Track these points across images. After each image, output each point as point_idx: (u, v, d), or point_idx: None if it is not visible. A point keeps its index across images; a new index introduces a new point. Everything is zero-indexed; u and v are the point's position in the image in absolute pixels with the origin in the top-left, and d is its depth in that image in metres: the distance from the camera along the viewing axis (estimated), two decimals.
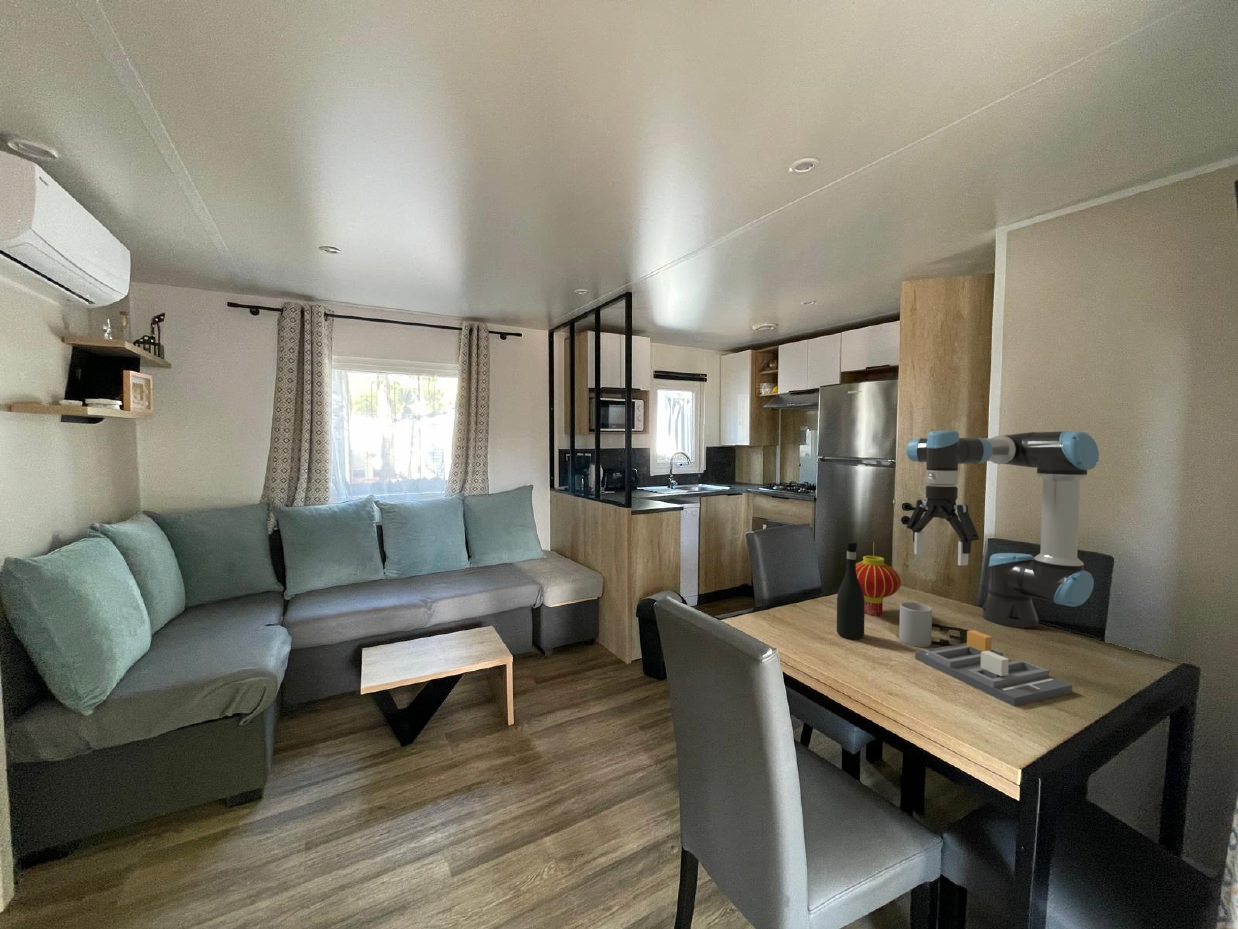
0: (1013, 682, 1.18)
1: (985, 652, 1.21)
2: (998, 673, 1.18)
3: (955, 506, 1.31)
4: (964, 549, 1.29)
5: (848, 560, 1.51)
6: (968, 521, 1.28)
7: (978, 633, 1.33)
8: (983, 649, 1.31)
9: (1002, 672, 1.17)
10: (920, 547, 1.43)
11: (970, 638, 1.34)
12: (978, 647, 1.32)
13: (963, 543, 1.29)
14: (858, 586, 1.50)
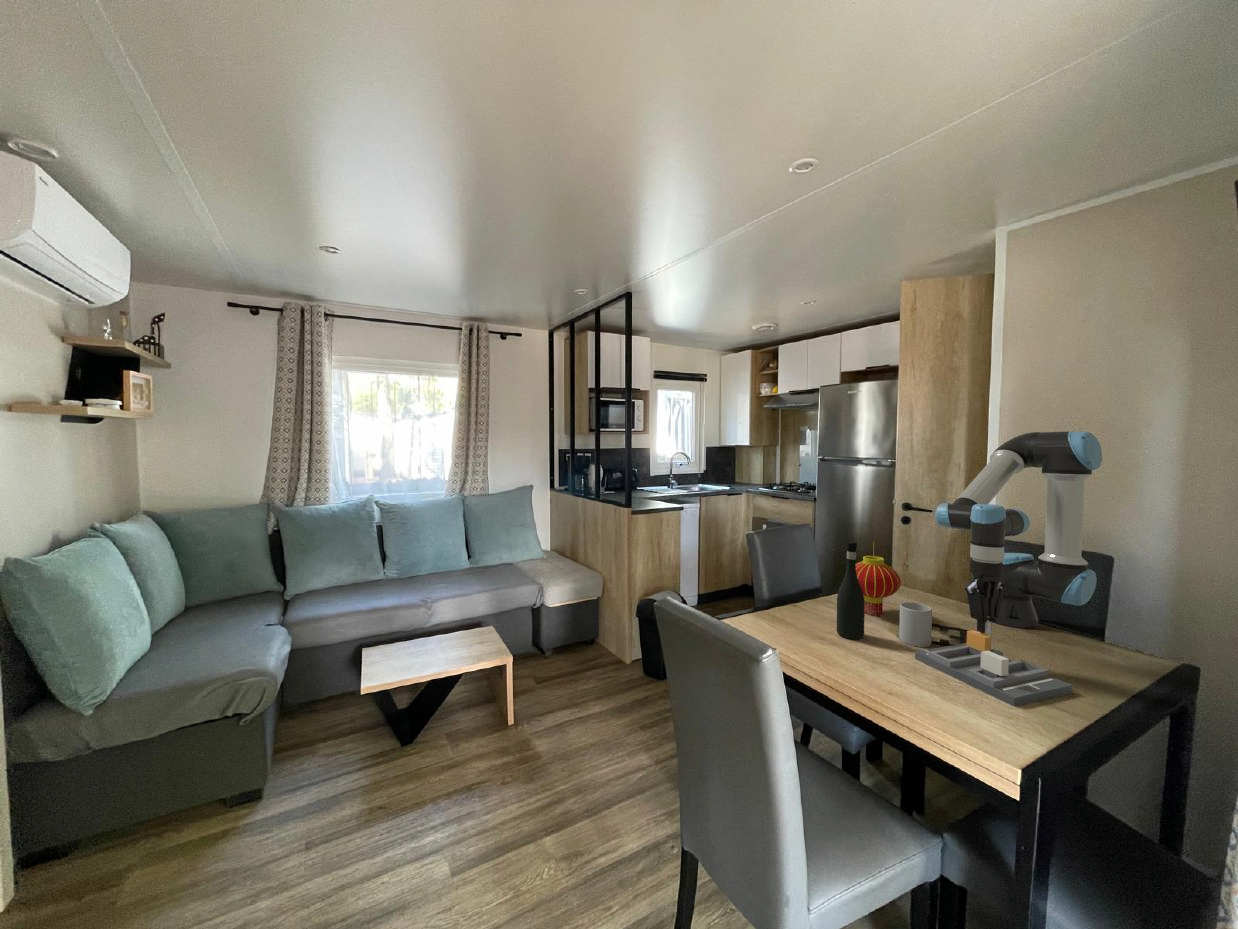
0: (1013, 682, 1.18)
1: (985, 652, 1.21)
2: (998, 673, 1.18)
3: None
4: None
5: (848, 560, 1.51)
6: (973, 602, 1.32)
7: (978, 633, 1.33)
8: (983, 649, 1.31)
9: (1002, 672, 1.17)
10: None
11: (970, 638, 1.34)
12: (978, 647, 1.32)
13: None
14: (858, 586, 1.50)
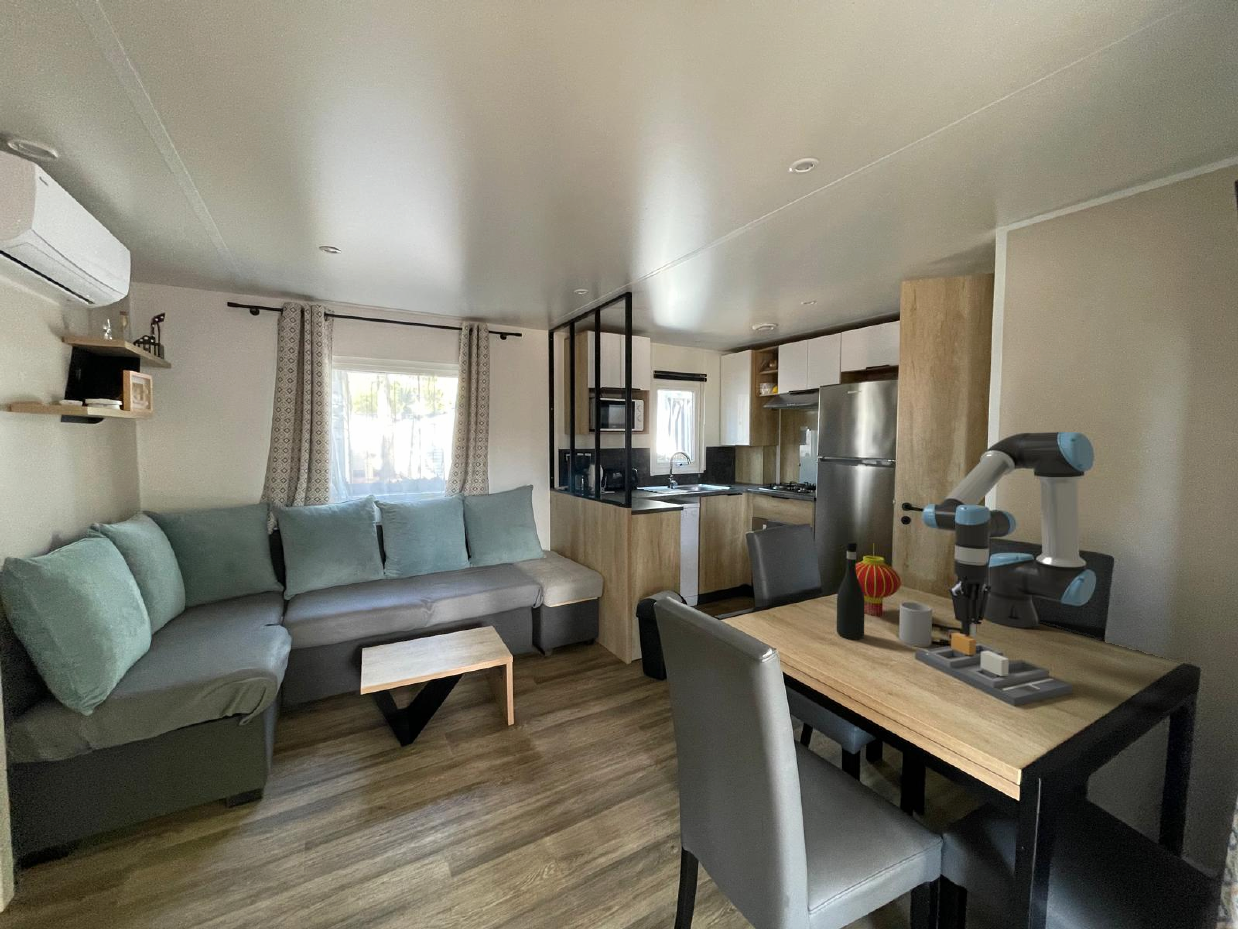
0: (1013, 682, 1.18)
1: (985, 652, 1.21)
2: (998, 673, 1.18)
3: None
4: None
5: (848, 560, 1.51)
6: (957, 604, 1.30)
7: (962, 636, 1.32)
8: (967, 652, 1.29)
9: (1002, 672, 1.17)
10: None
11: (954, 641, 1.33)
12: (962, 650, 1.31)
13: None
14: (858, 586, 1.50)
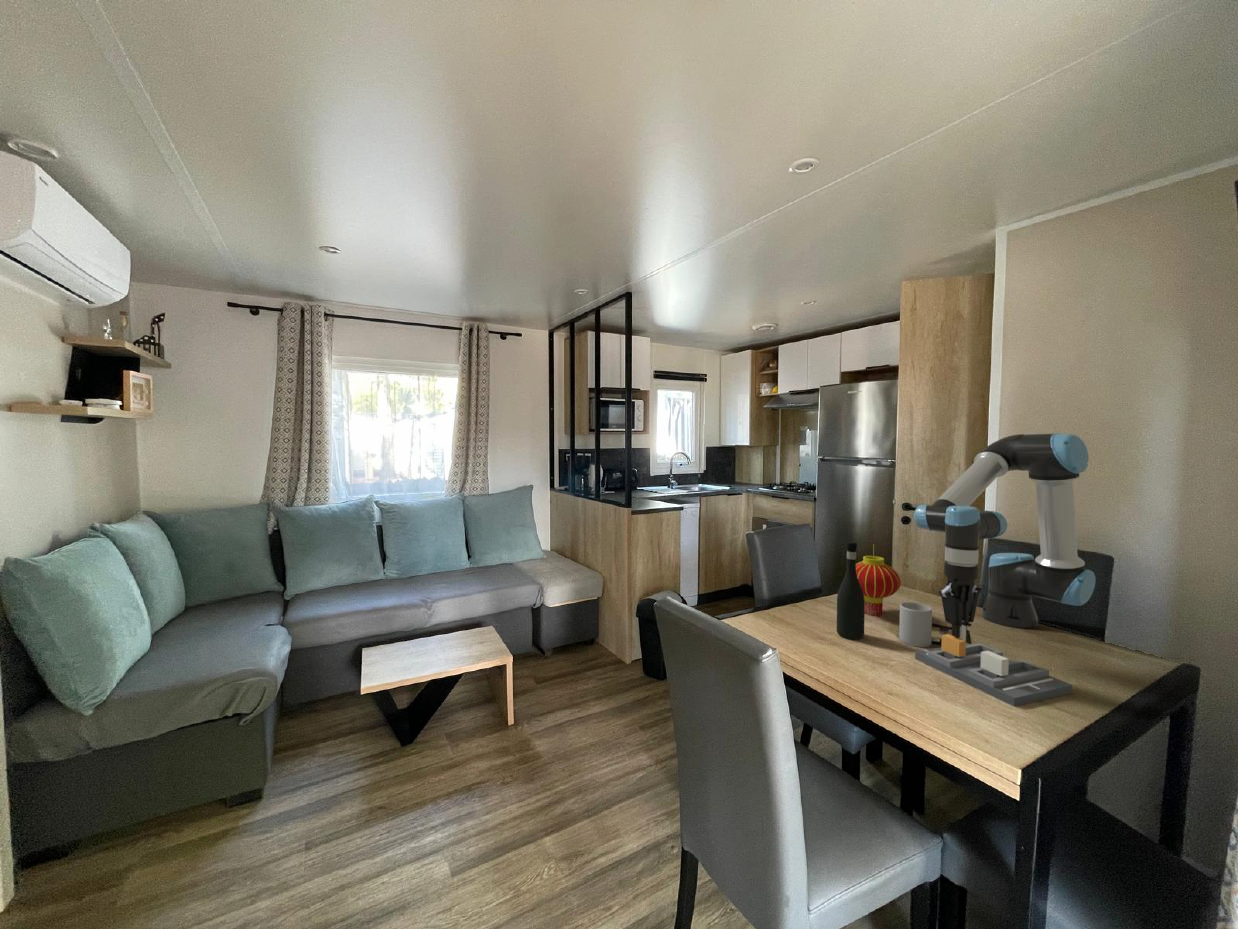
0: (1013, 682, 1.18)
1: (985, 652, 1.21)
2: (998, 673, 1.18)
3: None
4: None
5: (848, 560, 1.51)
6: (947, 606, 1.29)
7: (952, 637, 1.31)
8: (957, 654, 1.28)
9: (1002, 672, 1.17)
10: None
11: (944, 642, 1.32)
12: (952, 652, 1.29)
13: None
14: (858, 586, 1.50)
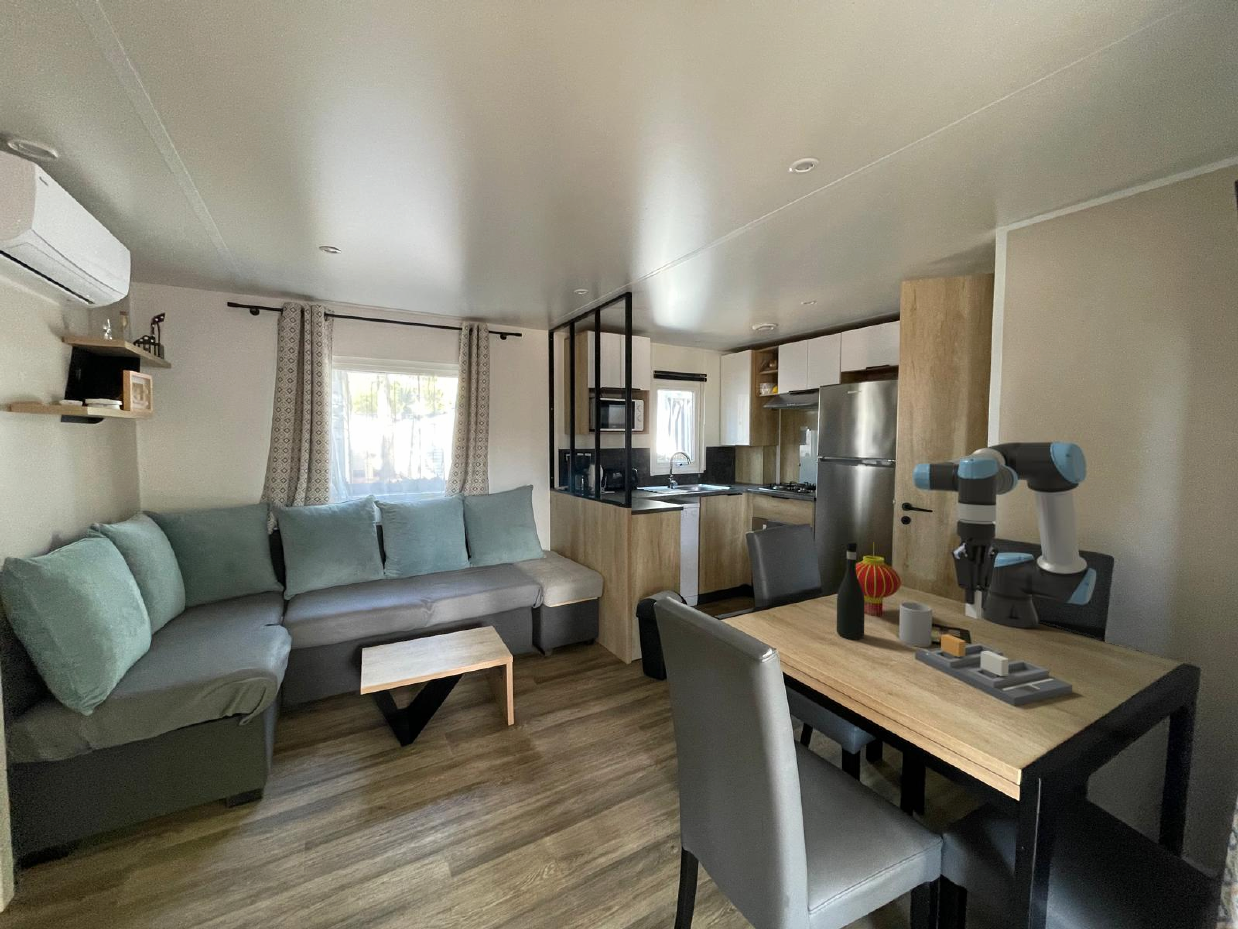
0: (1013, 682, 1.18)
1: (985, 652, 1.21)
2: (998, 673, 1.18)
3: None
4: None
5: (848, 560, 1.51)
6: (960, 569, 1.15)
7: (952, 637, 1.31)
8: (957, 654, 1.28)
9: (1002, 672, 1.17)
10: None
11: (944, 642, 1.31)
12: (952, 652, 1.29)
13: None
14: (858, 586, 1.50)
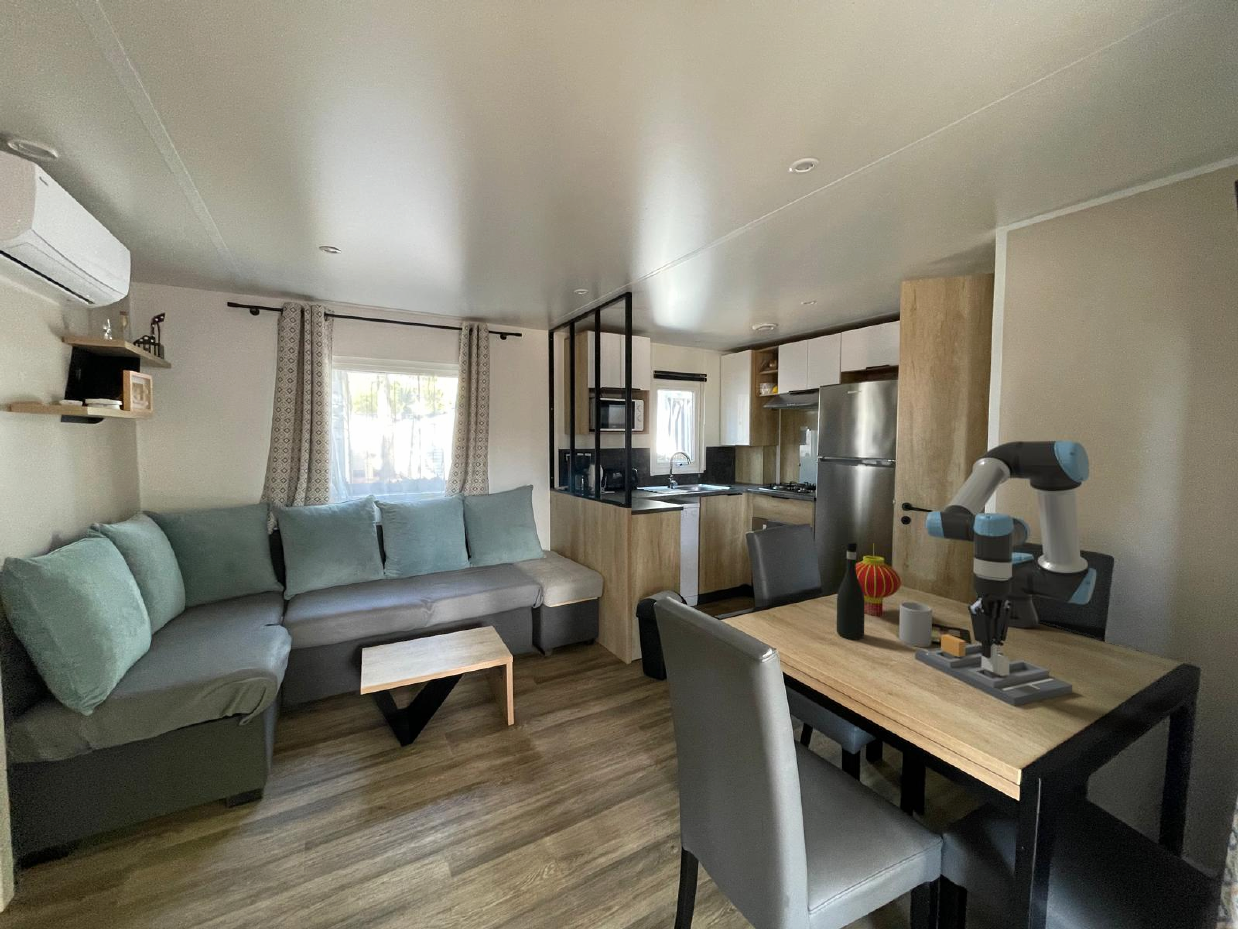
0: (1013, 682, 1.18)
1: None
2: (999, 673, 1.18)
3: None
4: None
5: (848, 560, 1.51)
6: (976, 623, 1.17)
7: (952, 637, 1.31)
8: (957, 654, 1.28)
9: (1003, 672, 1.17)
10: None
11: (944, 642, 1.31)
12: (952, 652, 1.29)
13: None
14: (858, 586, 1.50)
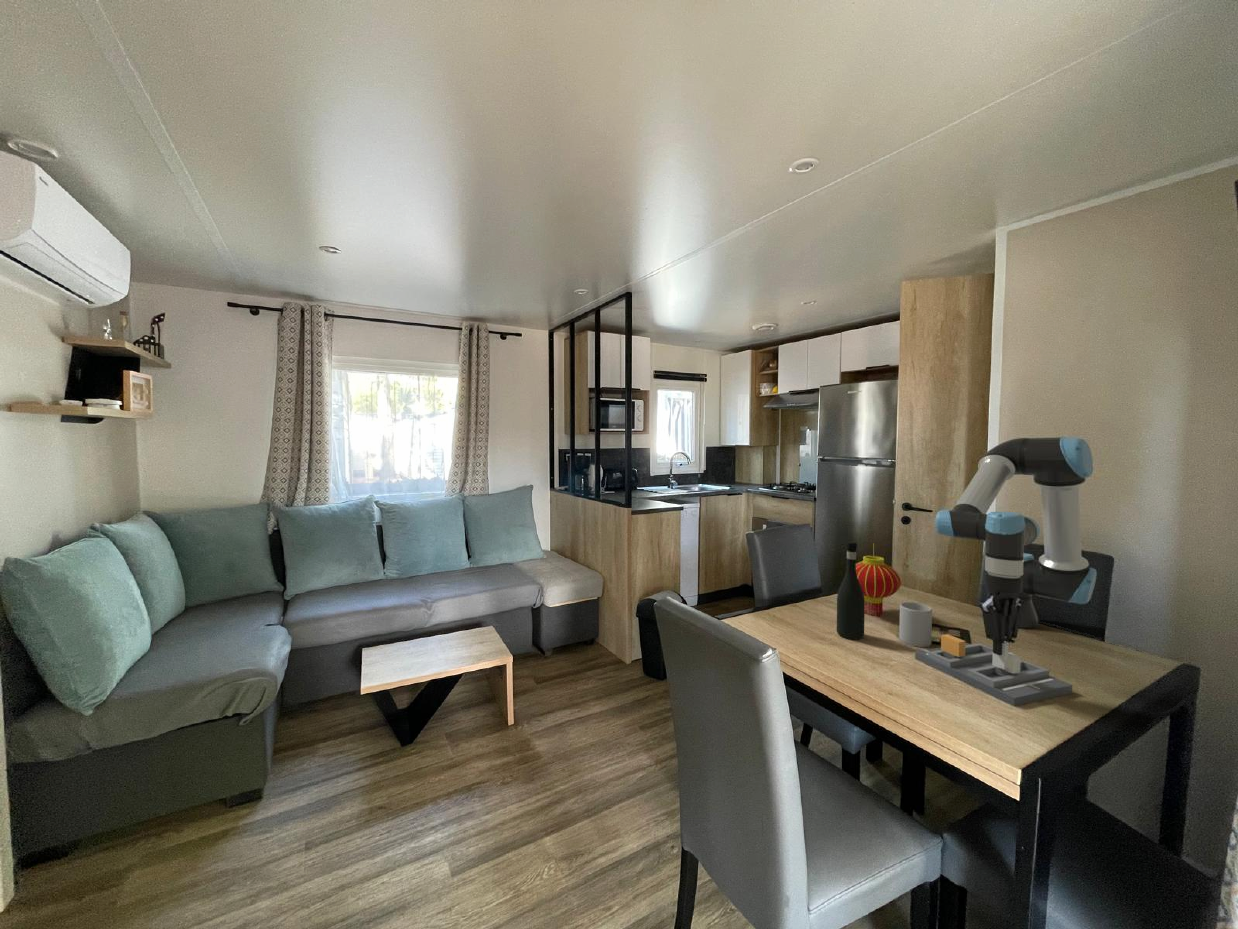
0: (1013, 682, 1.18)
1: None
2: (1010, 671, 1.19)
3: None
4: None
5: (848, 560, 1.51)
6: (988, 621, 1.19)
7: (952, 637, 1.31)
8: (957, 654, 1.28)
9: (1014, 670, 1.18)
10: None
11: (944, 642, 1.31)
12: (952, 652, 1.29)
13: None
14: (858, 586, 1.50)
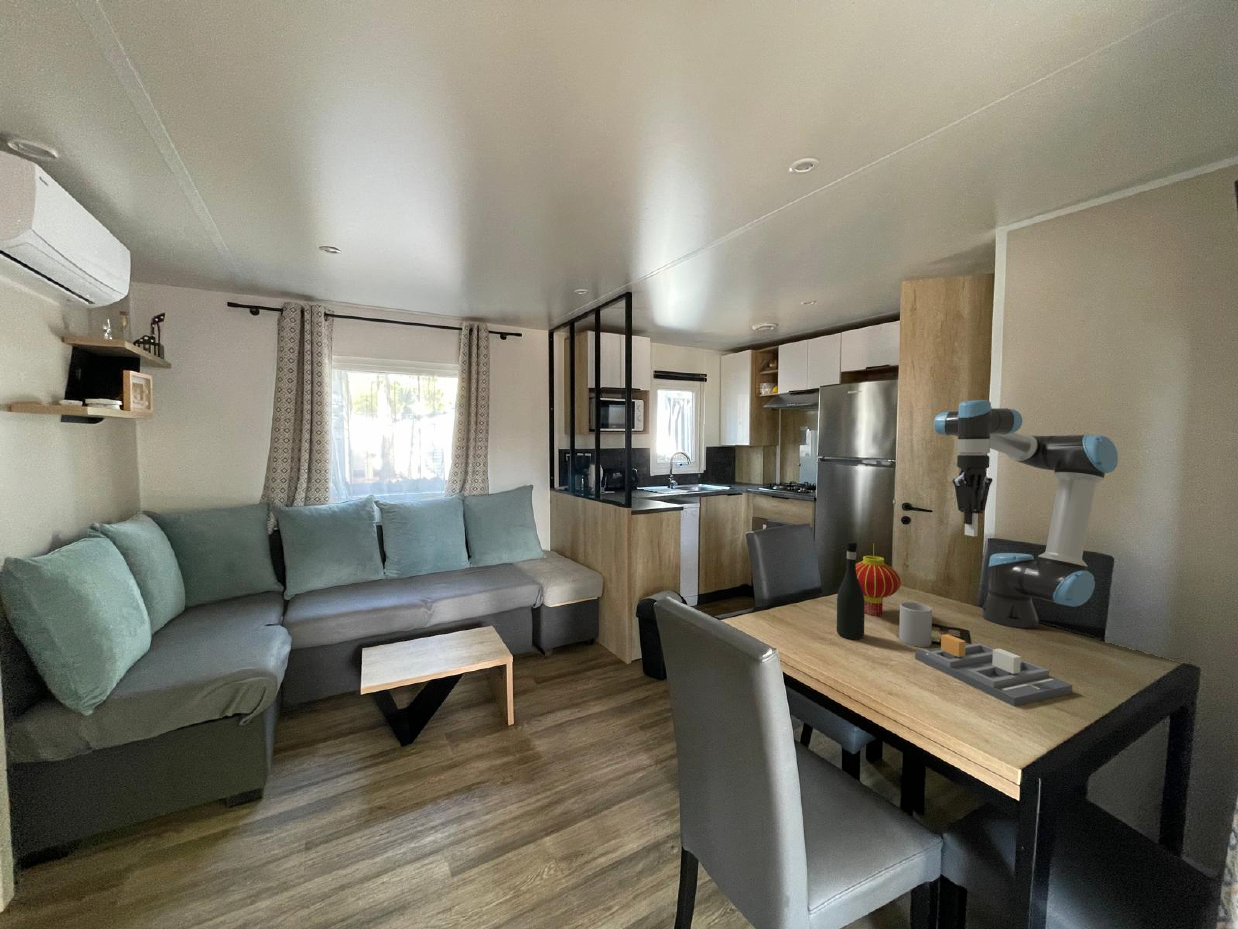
0: (1013, 682, 1.18)
1: (997, 650, 1.23)
2: (1010, 671, 1.19)
3: None
4: None
5: (848, 560, 1.51)
6: (960, 494, 1.37)
7: (952, 637, 1.31)
8: (957, 654, 1.28)
9: (1014, 670, 1.18)
10: None
11: (944, 642, 1.31)
12: (952, 652, 1.29)
13: None
14: (858, 586, 1.50)
